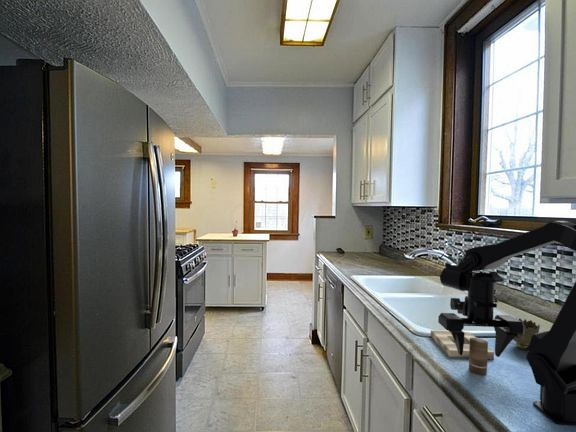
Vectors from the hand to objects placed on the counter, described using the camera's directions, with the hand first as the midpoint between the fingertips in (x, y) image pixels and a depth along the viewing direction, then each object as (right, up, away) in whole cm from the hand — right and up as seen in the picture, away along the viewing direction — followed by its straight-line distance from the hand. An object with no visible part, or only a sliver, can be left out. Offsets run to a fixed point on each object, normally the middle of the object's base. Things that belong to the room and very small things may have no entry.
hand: (478, 355), depth 80 cm
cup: (+22, -4, +14) cm, 26 cm away
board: (+3, -4, +14) cm, 15 cm away
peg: (0, -4, 0) cm, 4 cm away
